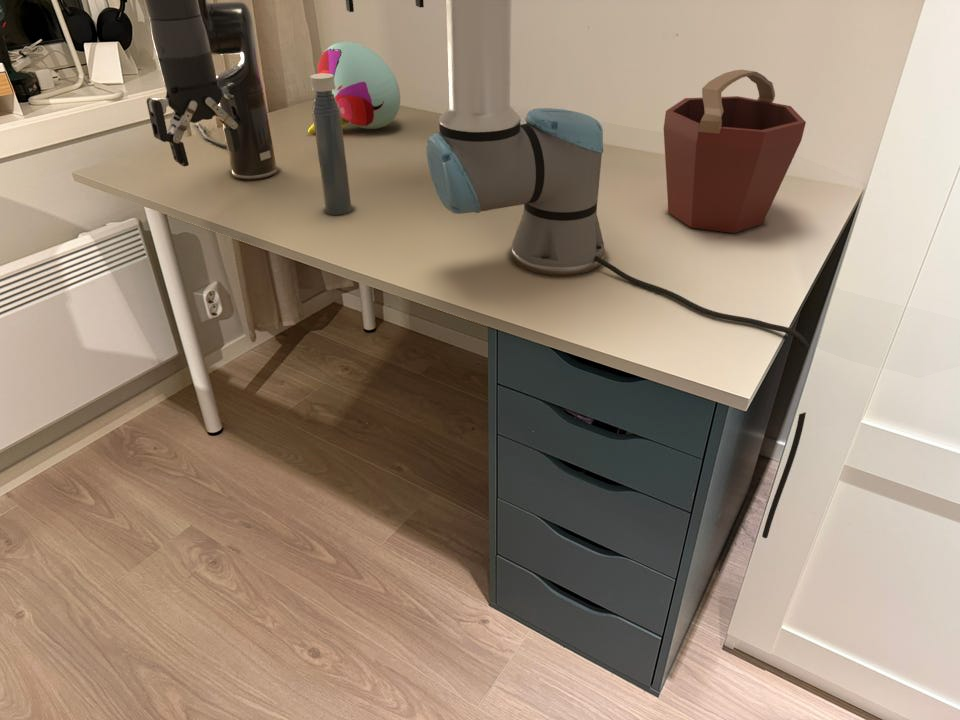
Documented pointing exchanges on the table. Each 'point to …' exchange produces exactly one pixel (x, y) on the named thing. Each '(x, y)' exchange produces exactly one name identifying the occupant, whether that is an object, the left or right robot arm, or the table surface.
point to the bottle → (331, 153)
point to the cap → (322, 82)
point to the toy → (361, 85)
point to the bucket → (728, 154)
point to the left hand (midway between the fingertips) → (209, 158)
